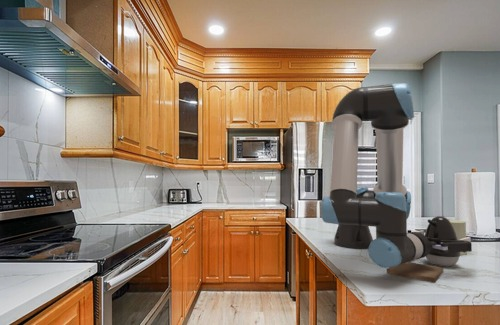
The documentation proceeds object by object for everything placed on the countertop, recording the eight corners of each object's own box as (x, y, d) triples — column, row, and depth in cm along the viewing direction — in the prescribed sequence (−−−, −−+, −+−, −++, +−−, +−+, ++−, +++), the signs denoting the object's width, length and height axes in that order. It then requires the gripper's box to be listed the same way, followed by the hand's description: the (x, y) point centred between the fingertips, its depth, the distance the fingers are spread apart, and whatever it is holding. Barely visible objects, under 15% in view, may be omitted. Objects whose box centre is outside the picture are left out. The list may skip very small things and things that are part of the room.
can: (457, 249, 115) (456, 217, 116) (472, 255, 106) (471, 221, 107) (432, 248, 116) (431, 217, 117) (445, 254, 107) (444, 221, 108)
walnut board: (386, 272, 86) (386, 268, 87) (399, 263, 95) (399, 260, 96) (434, 282, 79) (434, 278, 79) (443, 272, 87) (443, 267, 88)
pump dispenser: (415, 261, 98) (414, 214, 99) (437, 258, 102) (436, 213, 103) (445, 270, 89) (443, 219, 90) (468, 267, 93) (467, 217, 93)
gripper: (371, 250, 96) (407, 242, 108) (460, 271, 75) (492, 258, 87) (371, 226, 96) (406, 221, 108) (460, 240, 75) (491, 232, 87)
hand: (444, 237), depth 98 cm, fingers open, 13 cm apart
